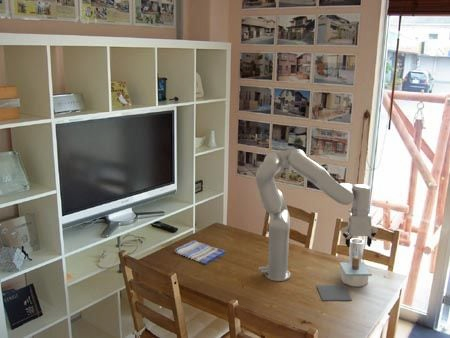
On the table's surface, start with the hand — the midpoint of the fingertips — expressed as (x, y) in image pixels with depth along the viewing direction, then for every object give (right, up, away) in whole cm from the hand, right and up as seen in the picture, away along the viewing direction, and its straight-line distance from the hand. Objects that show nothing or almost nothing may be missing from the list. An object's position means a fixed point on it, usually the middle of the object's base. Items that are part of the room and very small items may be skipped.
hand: (358, 245), depth 218 cm
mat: (-13, -21, -6) cm, 25 cm away
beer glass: (+3, -14, +18) cm, 23 cm away
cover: (-1, -12, +3) cm, 12 cm away
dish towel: (-76, -10, +34) cm, 84 cm away
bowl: (-1, -18, +5) cm, 18 cm away
